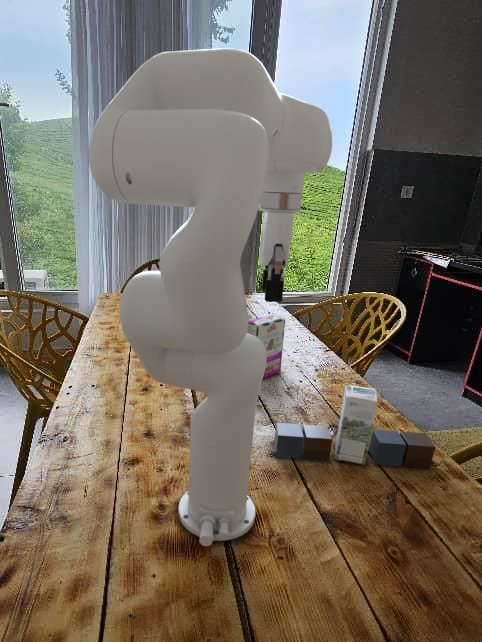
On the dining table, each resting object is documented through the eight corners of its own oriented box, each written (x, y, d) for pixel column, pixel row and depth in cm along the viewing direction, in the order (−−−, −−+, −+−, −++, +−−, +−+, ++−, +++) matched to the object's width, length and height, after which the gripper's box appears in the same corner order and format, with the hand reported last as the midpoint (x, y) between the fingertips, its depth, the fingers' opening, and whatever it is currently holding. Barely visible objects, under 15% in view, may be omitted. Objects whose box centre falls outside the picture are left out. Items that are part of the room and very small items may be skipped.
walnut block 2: (429, 468, 87) (435, 446, 85) (403, 466, 87) (408, 444, 85) (420, 454, 91) (425, 433, 90) (395, 452, 92) (400, 431, 90)
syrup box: (363, 450, 92) (376, 387, 87) (365, 466, 87) (378, 400, 81) (334, 445, 93) (345, 382, 88) (334, 460, 88) (346, 395, 83)
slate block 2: (401, 466, 87) (406, 444, 85) (375, 464, 87) (379, 442, 86) (392, 451, 92) (397, 431, 90) (368, 450, 92) (372, 429, 90)
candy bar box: (267, 367, 131) (273, 313, 125) (280, 372, 128) (286, 318, 122) (240, 376, 125) (245, 320, 119) (253, 382, 121) (258, 325, 115)
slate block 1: (300, 458, 88) (303, 437, 86) (275, 456, 89) (278, 435, 87) (297, 444, 93) (300, 424, 91) (273, 443, 93) (276, 422, 91)
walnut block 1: (328, 460, 88) (332, 439, 86) (303, 459, 88) (306, 437, 86) (324, 446, 93) (327, 426, 91) (300, 445, 93) (303, 424, 91)
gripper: (257, 200, 89) (251, 284, 95) (261, 204, 73) (253, 305, 79) (295, 202, 89) (286, 286, 95) (307, 206, 73) (295, 307, 79)
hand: (271, 295), depth 87 cm, fingers open, 9 cm apart
